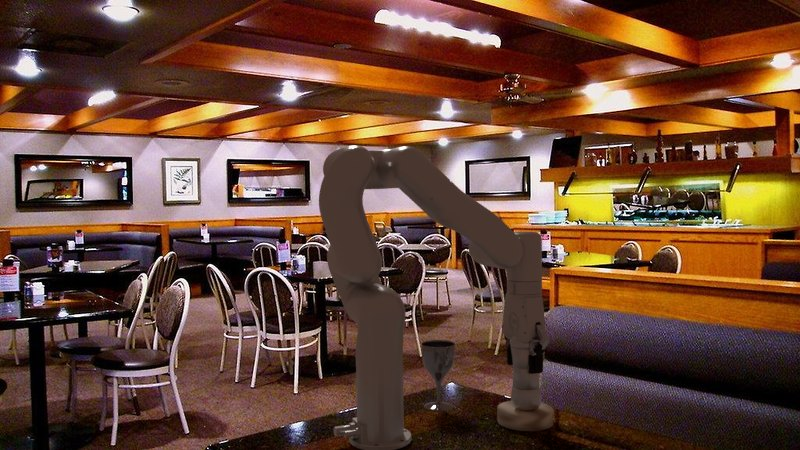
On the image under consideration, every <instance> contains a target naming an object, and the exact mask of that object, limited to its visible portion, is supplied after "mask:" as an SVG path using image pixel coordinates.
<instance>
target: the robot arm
mask: <svg viewBox="0 0 800 450" xmlns="http://www.w3.org/2000/svg"><path fill="white" fill-rule="evenodd" d="M322 172H323V178H322V181H321V185H320V188H319V192H318V193H319V194H318V206H319V208H318V209H319V213H320V214H319V215H320V217H321V220H322V224H323V227H324V229H325V232H326V235H327V236H326V237H327V239H328V241H329V244H330V245H329V247H328V249H327V252H326V253H327V254H326V260H327V261H326V262H327V265H328V266H327V267H328V270H329V273H330V275H331V278H332V280H333V283H334V286H335V287H336V288H335V289H336V290H337V292H338V296H339V298H340V300H341V303H342V306H343V308H344V310H345V312H346V314H347V315H348V317H349V318H350V319H351V320H352V321H353V322H354V323H356V324H357V335H356V343H355V377H356V378H355V380H356V381H355V384H356V387H355V389H356V393H355V394H356V417H352V422H349V423H348V424H346V425H344V424H343V425H337V426H336V425H335V426H334V427H333V435H334V437H341V436H343V438H344V439H348V438H349V443H350V445H352V446H353V447H354V448H357V449H359V450H398V449H402V448H404V447H407V446H408V445H409V444H410V443H411V441H412V433H411V431H409V430H408V429H406V428H405V425H404V421H405V420H404V417H405V415H404V359H403V356H404V355H403V353H404V352H403V351H404V348H403V347H404V335H405V325H406V318H407V317H406V315H407V313H406V307H405V304H404V301H403V299H402V297H401V296H400V294H398V292H396V291H395V290H394V289H393V288H391V287H388V286H386V285H383V284H382V282H381V278H380V277H379V275H380V273H381V270H382V267H383V258H382V253H381V252H380V251H381V250H380V249H379V246H378V244H377V242H376V239H375V236H374V234H373V232H372V228H371V226H370V223H369V221H368V218H367V214H366V212H365V208H364V203H363V202H364V199H363V197H364V194H365V193H364V192H365V190H388V189H399V190H400V191H401V192H402V193H403V194H404V195H406V196H407V198H409V200H411V201H412V202H413V203H414V204H415V205H416V206H417V207H418V208H419V209H420V210H422V212H423V213H424V214H426V216H428V217H429V218H430V219H431V220H432V221H433V222H436V223H437V224H438V225H440V226H442V227H444V228H446V229H449V230H451V231H454V232H455V233H456V232H457V233H458V234H460V235H461V236H463V237H464V238H466V239H467V240H469V244H468V253H469V256H470V257H471V259H472V260H473V261H475V262H476V263H477V264H479V265H482V266H485V267H491V268H496V269H502V270H506V293H505V296H504V297H505V298H504V303H503V312H502V313H503V315H502V324H501V329H502V334H503V338H504V339H505V346H506V364H507V365H508V366H513V358H512V352H511V346H510V340H511V338H512V337H513V336H515V337H517V338H518V340H519V341H520V342H522V343H528V344H529V349H530V352H531V355H529V373H530V374H536V373H538V374H542V373H543V372H544V355H546V354H545V353H546V352H545V351H546V350H547V348H548V345H549V343H550V341H551V338H550V337H549V335H548V334H547V332H546V321H545V320H546V319H545V307H544V306H545V305H544V301H543V241H542V236H541V234H540V233H539V232H536V231H513V230H512V228H511V227H509V226H508V225H507V223H505V222H504V221H503V220H502V219H501V218H500V217H499V216H497V214H495V213H494V212H493V211H491V210H490V209H488V208H487V207H486V206H484V205H482V204H481V203H480V202H478V201H477V200H476V199H475V198H473V197H471V196H470V195H468V194H467V193H465V192H464V191H462V190H461V189H460V188H459V187H458V186H457V185H456V184H455V183H454V182H453V181H451V179H450V178H448V177H447V176H446V174H445V173H443V172H442V170H441V169H439V168H438V167H437V166H436V165H435V164H434V163H433V162H432V161H431V159H429V158H428V157H427V156H426V155H425V154H424V153H423V152H421V151H420V149H417V148H416V147H414V146H410V145H409V146H408V145H404V146H398V147H394V148H390V149H389V148H388V149H367V148H365V147H364V146H361V145H357V144H356V145H355V144H354V145H346V146H344V147H341V148H339V149H336V150H334V151H332V152H331V153H329V154H328V155H327V157H326V158H325V160H324V162H323V166H322ZM533 337H537V340H533ZM535 343H538V345H537V346H536V348H535V347H534V344H535Z"/></svg>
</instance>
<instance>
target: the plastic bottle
mask: <svg viewBox="0 0 800 450" xmlns="http://www.w3.org/2000/svg"><path fill="white" fill-rule="evenodd" d="M533 340H537V337H533ZM537 345H538V343H535V344H534V347H535V348H536V346H537ZM510 346H511V352H512V358H513V365H512V371H513V372H512V385H511V390H510V401H512V404H513V406H514V407H515V408H517V409H521V410H535V409H538V408H539V406H540V405H541V402H542V399H543V397H542V392H541V388H540V379H539V378H540V376H539V373H536V374H530V373H529V355H531V352H530V349H529V344H528V343H522V342H520V341H519V340H518V338H517V337H515V336H513V337H512V338H511V340H510Z"/></svg>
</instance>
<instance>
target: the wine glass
mask: <svg viewBox="0 0 800 450" xmlns="http://www.w3.org/2000/svg"><path fill="white" fill-rule="evenodd" d="M420 349H421V359H422V363H423V366H424V369H425V370H426V372H428V374H429V375H430V376H431V378H433V381H434V382H435V388H436V401H431V402H427V403H425V404H424V405H423V408H424V409H426V410H428V411H433V412H446V411H451V410H453V409H454V408H455V406H454V405H453V404H452V403H450V402H446V401H441V400H442V399H441V389H442V383H443V380H444V378H445V377H446V376H447V375H448V374H449V372H450V371H451V370H452V368H453V365H454V362H455V358H456V357H455V356H456V343H455V342H454V341H451V340H445V339H444V340H443V339H431V340H426V341H423V342H421V348H420Z"/></svg>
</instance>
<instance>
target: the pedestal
mask: <svg viewBox="0 0 800 450" xmlns="http://www.w3.org/2000/svg"><path fill="white" fill-rule="evenodd" d="M496 409H497V423H498V424H499V425H500V426H502V427H504V428H506V429H510V430H514V431H519V432H539V431H545V430H548V429H550V428H551V427H553V426H554V408H553V407H552V406H551V405H549V404H547V403H544V402H542V401H541V405H540V406H539V408H538V409H535V410H521V409H517V408H515V407H514V406H513V404H512V401H511V400H507V401H503V402H500V403H499V404H498V405H497V408H496Z"/></svg>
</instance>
